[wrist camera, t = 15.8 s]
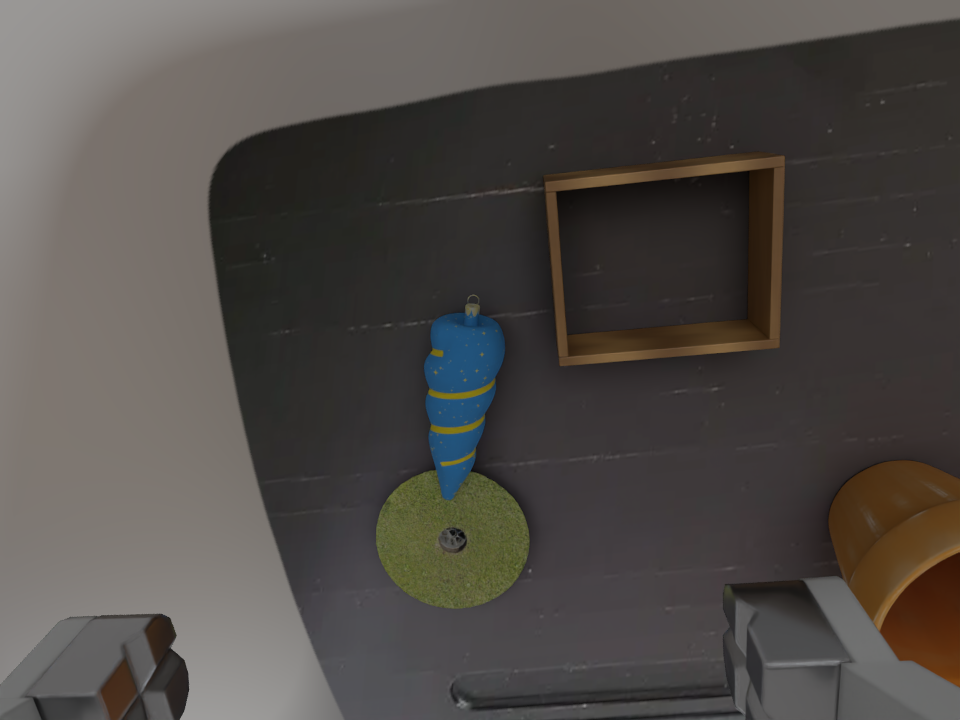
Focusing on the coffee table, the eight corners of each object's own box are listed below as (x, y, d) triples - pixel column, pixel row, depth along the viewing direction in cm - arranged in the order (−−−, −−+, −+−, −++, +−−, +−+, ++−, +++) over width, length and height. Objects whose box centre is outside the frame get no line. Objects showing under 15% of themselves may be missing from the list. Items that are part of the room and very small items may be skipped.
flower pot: (778, 595, 53) (854, 741, 41) (797, 425, 48) (889, 532, 36) (974, 595, 52) (1112, 744, 40) (1013, 421, 47) (1183, 530, 35)
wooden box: (556, 344, 47) (559, 366, 43) (542, 175, 44) (544, 181, 40) (756, 326, 46) (779, 348, 42) (759, 151, 43) (785, 155, 38)
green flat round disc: (350, 528, 53) (344, 541, 51) (450, 428, 51) (447, 438, 49) (458, 620, 55) (456, 636, 53) (560, 528, 52) (561, 541, 50)
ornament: (415, 477, 51) (430, 280, 46) (484, 481, 52) (507, 286, 47) (412, 518, 47) (429, 303, 41) (488, 522, 47) (515, 309, 42)
